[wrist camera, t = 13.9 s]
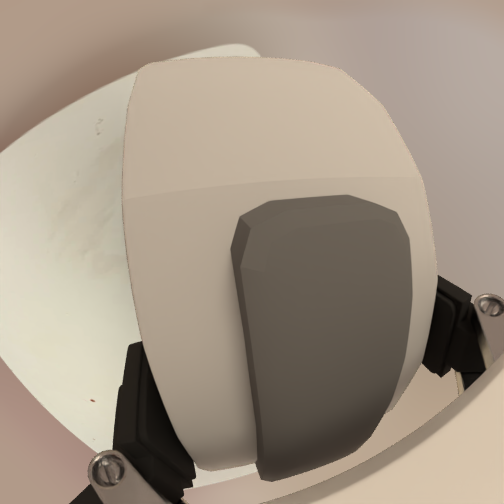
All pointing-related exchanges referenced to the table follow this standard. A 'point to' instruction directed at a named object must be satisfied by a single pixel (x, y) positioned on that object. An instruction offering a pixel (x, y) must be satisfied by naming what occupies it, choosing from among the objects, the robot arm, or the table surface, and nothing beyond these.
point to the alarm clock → (273, 258)
